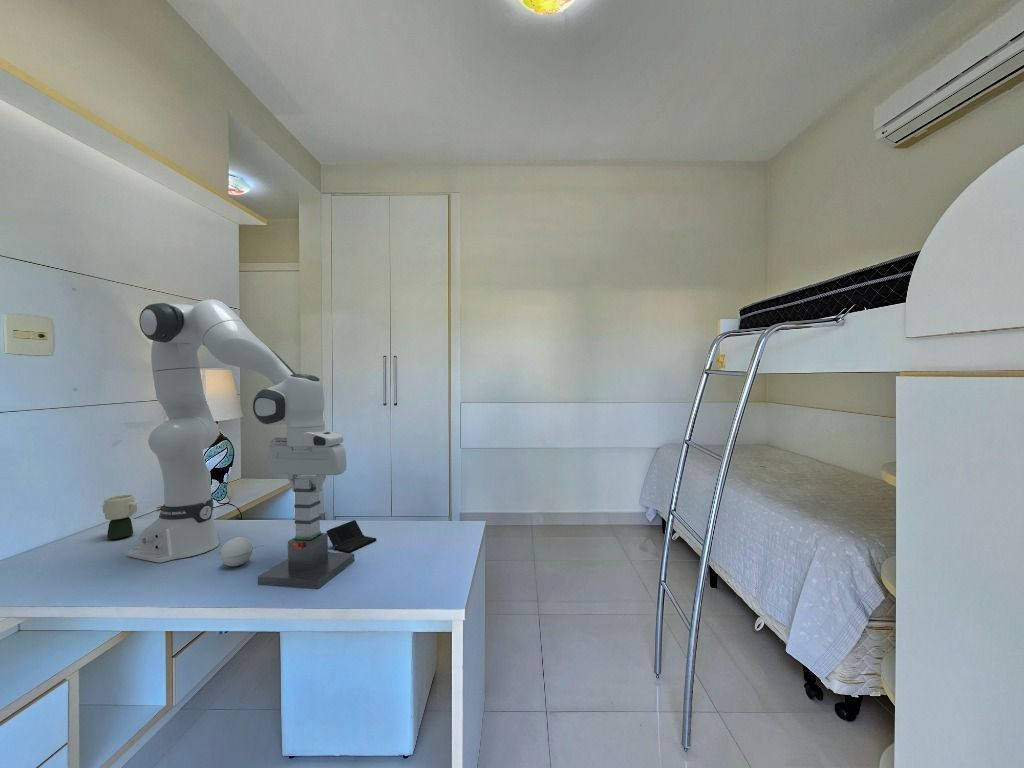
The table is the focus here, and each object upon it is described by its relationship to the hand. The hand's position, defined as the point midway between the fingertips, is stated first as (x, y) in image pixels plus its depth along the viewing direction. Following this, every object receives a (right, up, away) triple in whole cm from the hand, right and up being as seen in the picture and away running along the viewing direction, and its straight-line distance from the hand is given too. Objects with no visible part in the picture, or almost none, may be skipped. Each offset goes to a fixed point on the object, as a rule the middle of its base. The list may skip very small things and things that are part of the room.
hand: (307, 491), depth 111 cm
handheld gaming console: (+5, -21, +19) cm, 28 cm away
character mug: (-73, -22, +28) cm, 81 cm away
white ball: (-20, -21, +6) cm, 30 cm away
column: (0, -12, 0) cm, 12 cm away
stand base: (0, -21, 0) cm, 21 cm away
